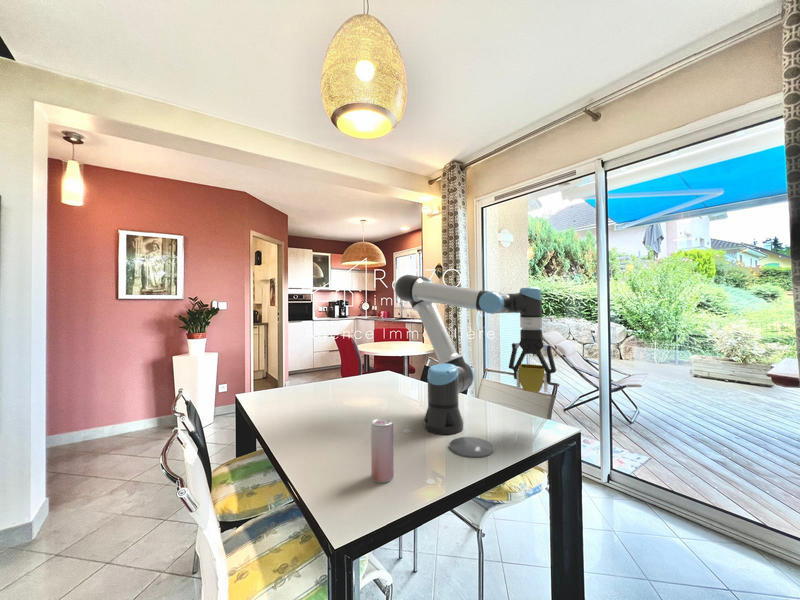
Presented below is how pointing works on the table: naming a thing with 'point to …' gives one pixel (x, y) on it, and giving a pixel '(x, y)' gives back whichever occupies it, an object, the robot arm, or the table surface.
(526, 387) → the flower pot
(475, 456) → the disc
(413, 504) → the table surface
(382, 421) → the beverage can
